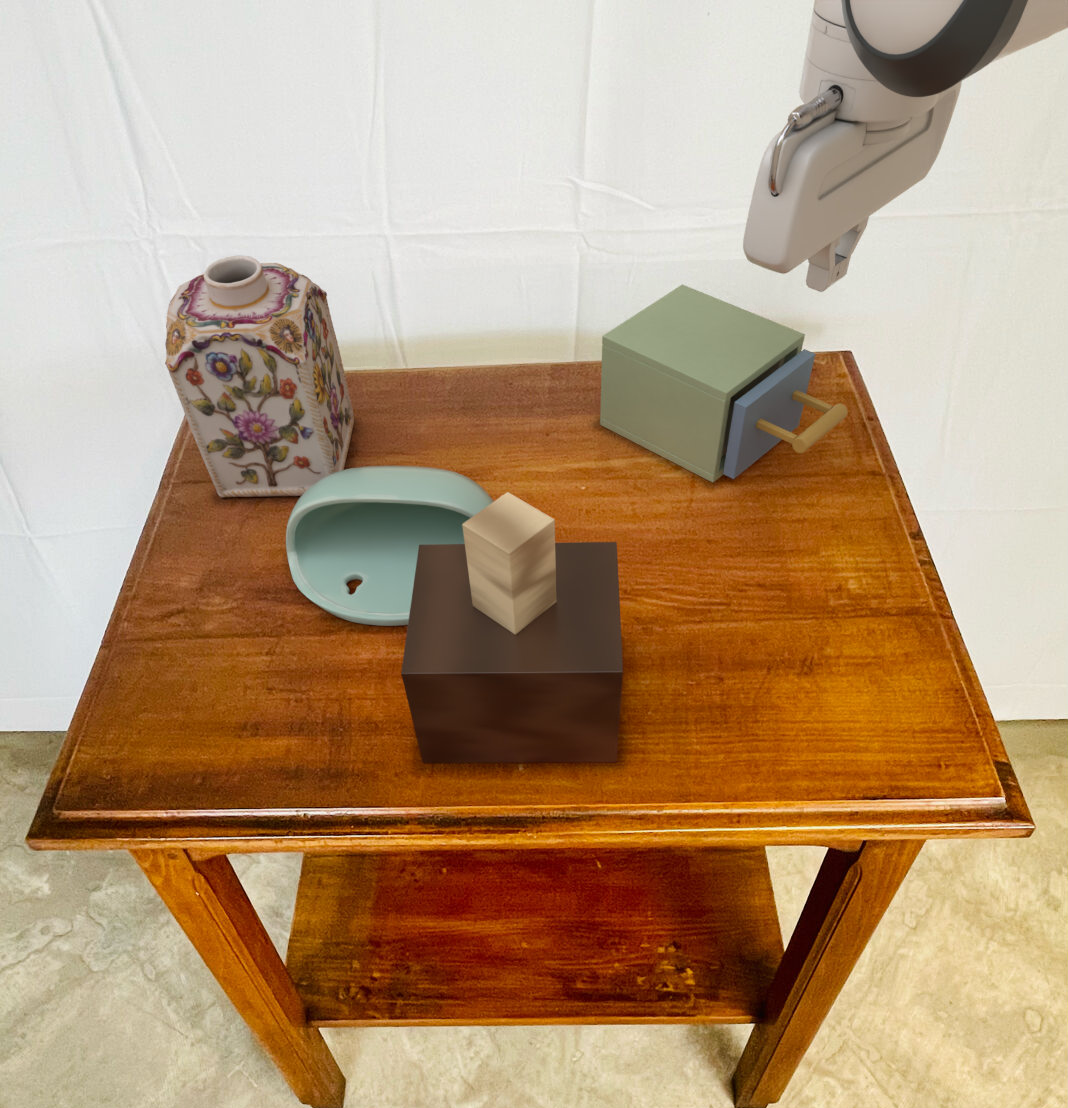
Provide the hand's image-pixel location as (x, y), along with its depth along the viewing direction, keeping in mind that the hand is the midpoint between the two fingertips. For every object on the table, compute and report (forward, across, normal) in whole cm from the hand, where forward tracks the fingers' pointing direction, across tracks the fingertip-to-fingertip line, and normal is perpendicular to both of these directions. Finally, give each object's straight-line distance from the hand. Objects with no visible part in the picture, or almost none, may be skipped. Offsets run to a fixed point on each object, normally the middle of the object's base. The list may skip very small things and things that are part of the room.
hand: (824, 282), depth 69 cm
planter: (+17, -31, +18) cm, 40 cm away
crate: (+17, -36, -1) cm, 39 cm away
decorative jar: (+17, -29, +36) cm, 50 cm away
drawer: (+16, 0, +6) cm, 17 cm away
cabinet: (+17, 0, +10) cm, 20 cm away
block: (+7, -36, -1) cm, 36 cm away
